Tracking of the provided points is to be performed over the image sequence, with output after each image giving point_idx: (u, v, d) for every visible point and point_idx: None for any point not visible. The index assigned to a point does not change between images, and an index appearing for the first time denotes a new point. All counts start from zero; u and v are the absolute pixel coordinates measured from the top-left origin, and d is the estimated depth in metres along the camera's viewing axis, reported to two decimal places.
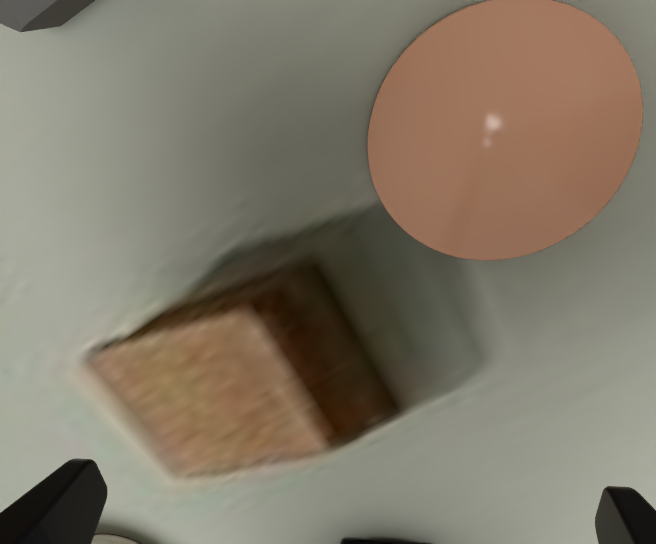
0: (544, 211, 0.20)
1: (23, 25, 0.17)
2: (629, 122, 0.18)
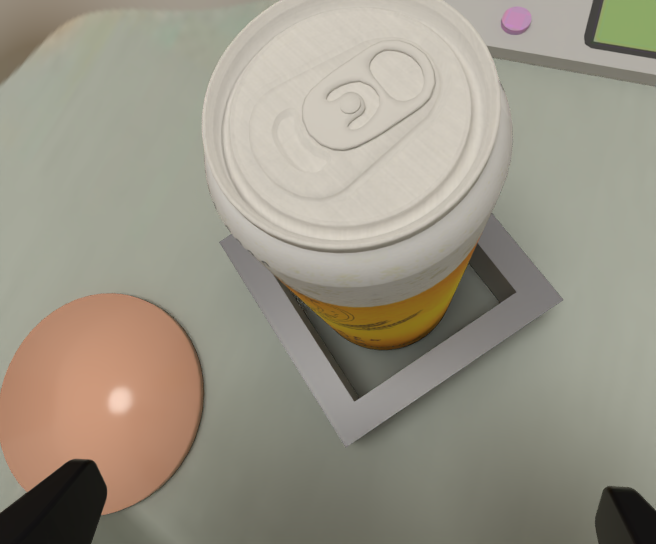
0: (158, 427, 0.23)
1: None
2: (170, 333, 0.24)
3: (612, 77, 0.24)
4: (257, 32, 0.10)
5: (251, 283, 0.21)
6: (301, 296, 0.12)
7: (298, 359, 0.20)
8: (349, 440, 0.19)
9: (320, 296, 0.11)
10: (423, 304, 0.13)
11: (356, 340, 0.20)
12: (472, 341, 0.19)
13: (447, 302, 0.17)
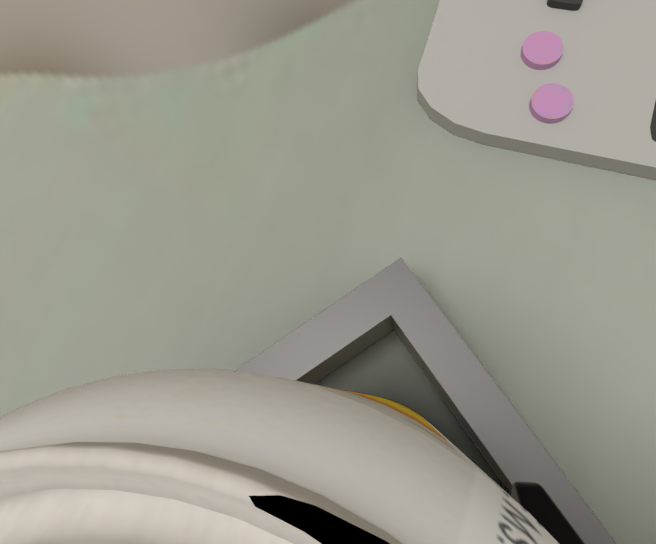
0: None
1: None
2: None
3: None
4: None
5: None
6: None
7: None
8: None
9: None
10: None
11: None
12: None
13: None
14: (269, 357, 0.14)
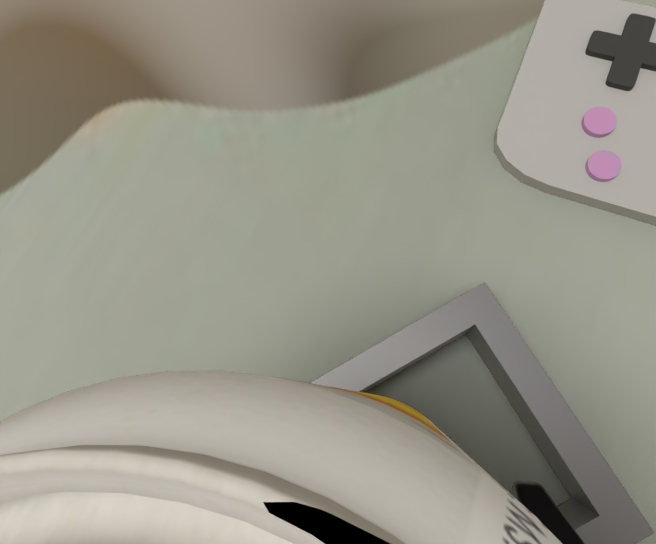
0: None
1: None
2: None
3: None
4: None
5: None
6: None
7: None
8: None
9: None
10: None
11: None
12: None
13: None
14: (382, 348, 0.19)
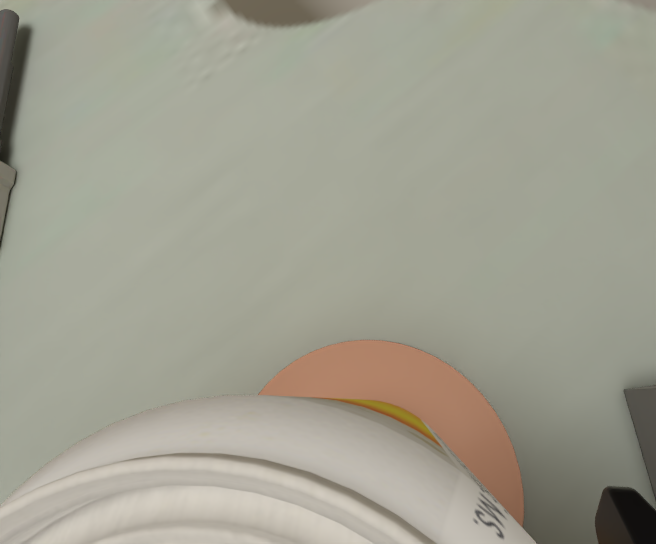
0: None
1: None
2: (500, 450, 0.17)
3: None
4: None
5: None
6: None
7: None
8: None
9: None
10: None
11: None
12: None
13: None
14: None
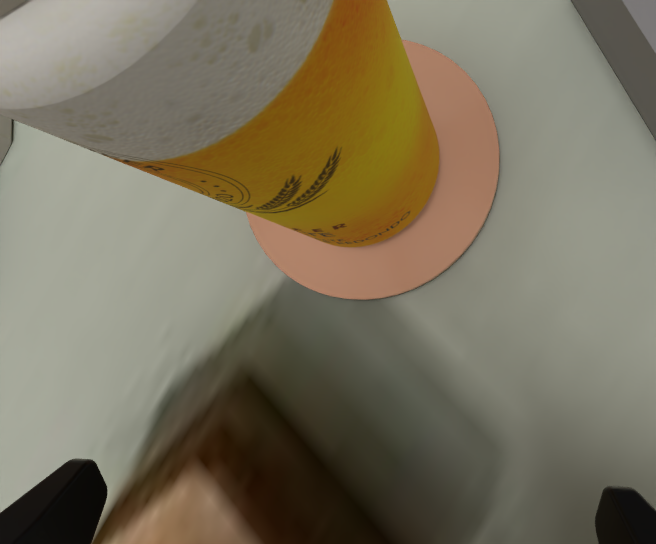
0: (440, 207, 0.18)
1: None
2: (464, 91, 0.18)
3: None
4: None
5: None
6: (150, 171, 0.09)
7: None
8: None
9: (122, 144, 0.07)
10: (325, 132, 0.09)
11: (328, 237, 0.16)
12: None
13: (406, 146, 0.13)
14: None
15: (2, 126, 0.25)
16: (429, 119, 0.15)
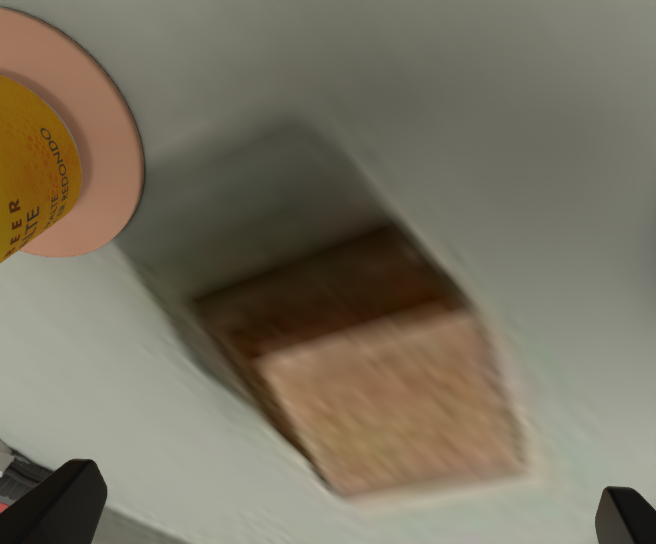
0: (62, 90, 0.19)
1: None
2: None
3: None
4: None
5: None
6: None
7: None
8: None
9: None
10: None
11: (42, 211, 0.18)
12: None
13: None
14: None
15: None
16: None
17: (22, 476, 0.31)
